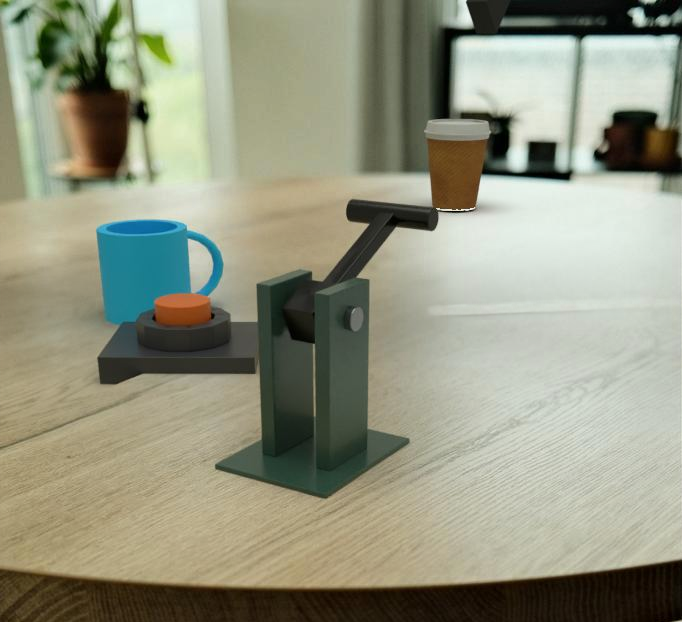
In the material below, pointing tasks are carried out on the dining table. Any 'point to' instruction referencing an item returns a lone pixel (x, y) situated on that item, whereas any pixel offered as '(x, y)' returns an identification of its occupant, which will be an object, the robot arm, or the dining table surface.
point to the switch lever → (354, 256)
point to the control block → (179, 348)
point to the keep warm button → (182, 309)
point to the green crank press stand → (298, 393)
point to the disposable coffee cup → (456, 161)
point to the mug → (147, 265)
